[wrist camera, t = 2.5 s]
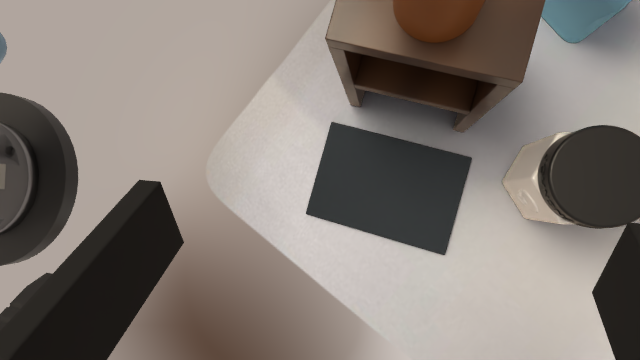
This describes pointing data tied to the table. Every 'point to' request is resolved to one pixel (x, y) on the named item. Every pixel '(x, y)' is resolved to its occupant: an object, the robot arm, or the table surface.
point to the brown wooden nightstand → (434, 56)
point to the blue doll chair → (579, 16)
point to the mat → (389, 187)
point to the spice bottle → (436, 18)
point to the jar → (579, 178)
